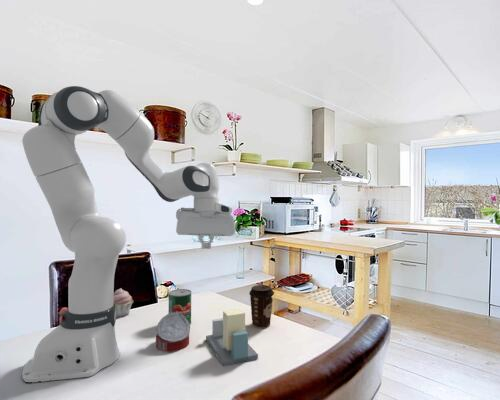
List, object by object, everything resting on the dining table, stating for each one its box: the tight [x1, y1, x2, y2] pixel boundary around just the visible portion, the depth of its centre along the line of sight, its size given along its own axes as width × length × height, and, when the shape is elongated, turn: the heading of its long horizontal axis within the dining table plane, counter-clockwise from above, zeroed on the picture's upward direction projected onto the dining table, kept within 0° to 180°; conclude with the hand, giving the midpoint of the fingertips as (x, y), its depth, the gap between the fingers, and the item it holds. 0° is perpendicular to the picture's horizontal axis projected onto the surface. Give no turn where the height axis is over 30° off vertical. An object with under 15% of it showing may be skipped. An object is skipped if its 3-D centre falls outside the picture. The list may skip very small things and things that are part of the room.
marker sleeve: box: [222, 308, 246, 350], centre depth 91 cm, size 5×4×10 cm
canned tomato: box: [168, 288, 192, 326], centre depth 113 cm, size 8×8×11 cm
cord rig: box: [205, 317, 259, 367], centre depth 94 cm, size 10×17×8 cm, turn 23°
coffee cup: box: [248, 284, 275, 329], centre depth 112 cm, size 9×8×13 cm
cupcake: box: [114, 287, 134, 318], centre depth 121 cm, size 9×9×10 cm
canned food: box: [155, 312, 191, 353], centre depth 97 cm, size 11×10×10 cm
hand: (206, 248), depth 109 cm, fingers closed
